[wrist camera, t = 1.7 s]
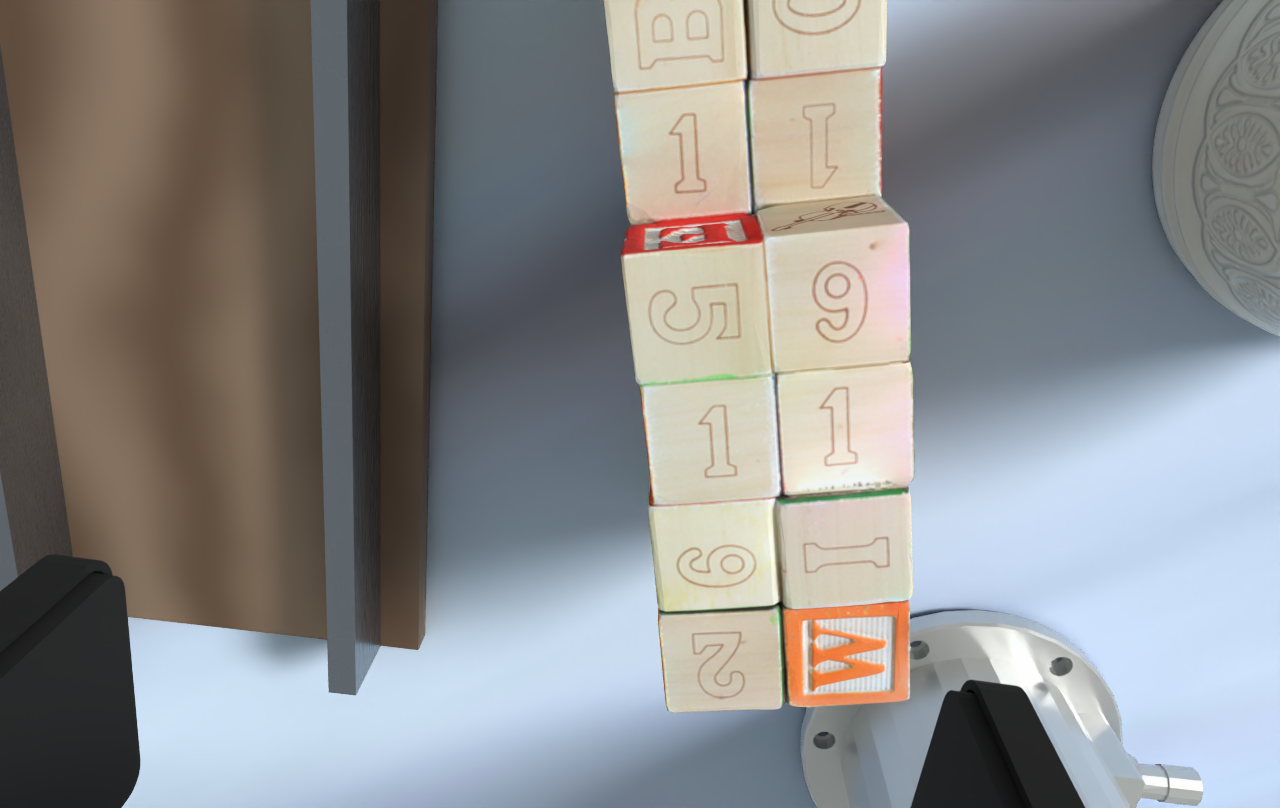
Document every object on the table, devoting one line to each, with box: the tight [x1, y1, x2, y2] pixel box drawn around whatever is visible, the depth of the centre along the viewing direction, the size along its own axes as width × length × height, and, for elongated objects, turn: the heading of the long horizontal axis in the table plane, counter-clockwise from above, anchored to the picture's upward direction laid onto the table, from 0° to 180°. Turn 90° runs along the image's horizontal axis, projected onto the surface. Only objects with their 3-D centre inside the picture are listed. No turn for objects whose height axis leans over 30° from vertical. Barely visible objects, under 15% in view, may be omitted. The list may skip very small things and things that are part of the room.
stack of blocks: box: [604, 0, 915, 713], centre depth 26 cm, size 21×6×12 cm, turn 5°
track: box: [0, 0, 438, 695], centre depth 31 cm, size 16×28×4 cm, turn 174°
